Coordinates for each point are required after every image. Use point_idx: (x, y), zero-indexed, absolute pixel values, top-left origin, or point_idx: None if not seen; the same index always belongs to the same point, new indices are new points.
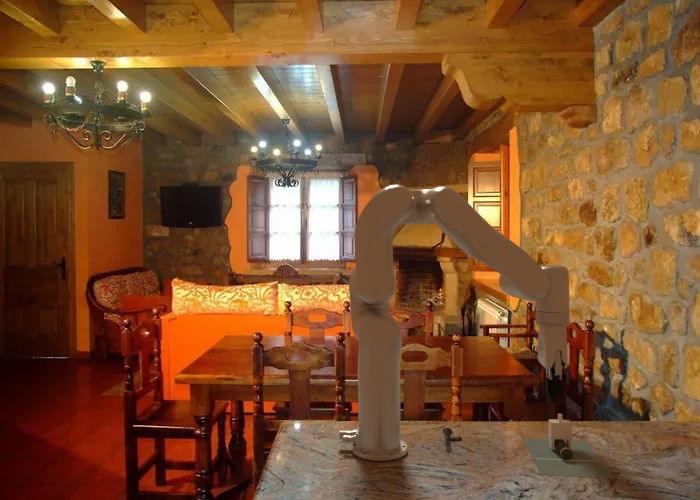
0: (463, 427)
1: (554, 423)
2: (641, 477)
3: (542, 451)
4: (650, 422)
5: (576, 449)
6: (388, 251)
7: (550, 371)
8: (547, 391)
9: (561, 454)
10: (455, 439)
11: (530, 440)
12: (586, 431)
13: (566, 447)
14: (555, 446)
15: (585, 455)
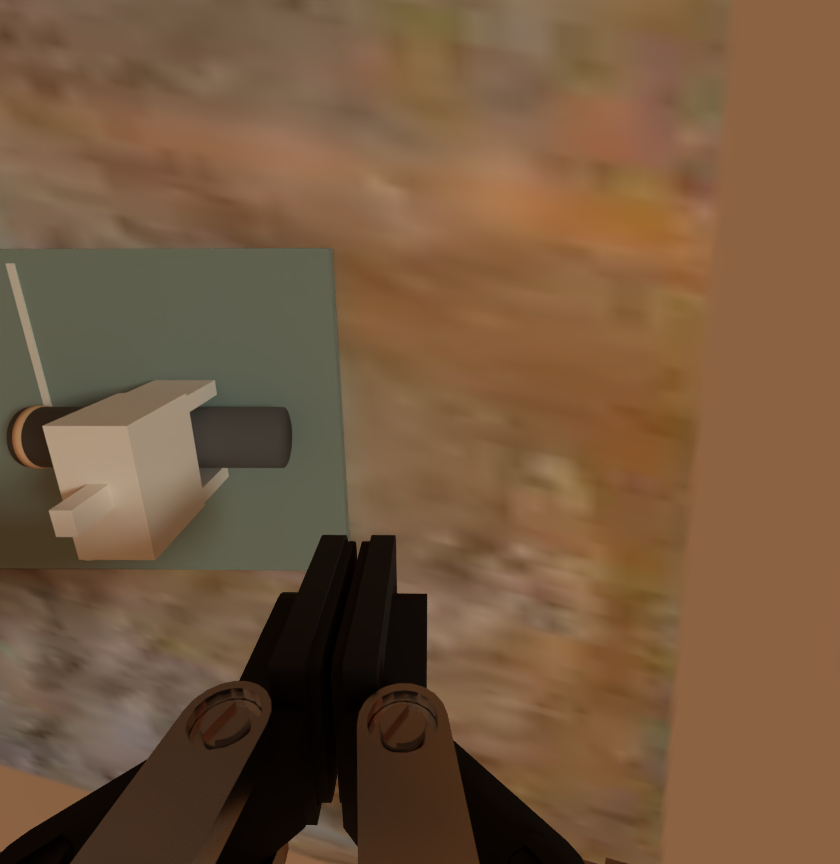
0: None
1: (51, 448)
2: (32, 655)
3: (139, 327)
4: (650, 851)
5: (217, 504)
6: None
7: (84, 862)
8: (338, 553)
9: (24, 409)
10: None
11: (302, 291)
12: (532, 609)
13: (31, 450)
14: None
15: None
